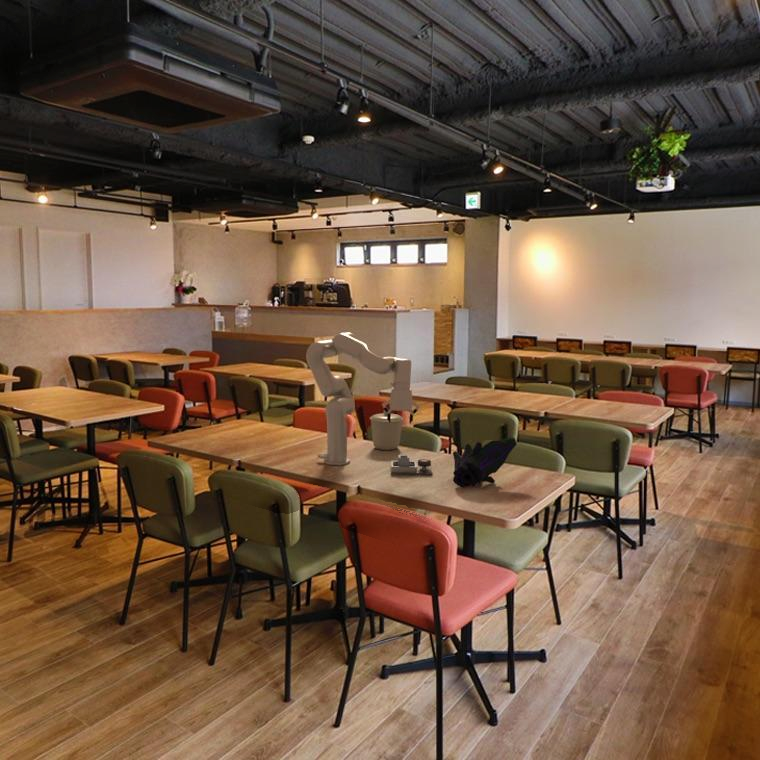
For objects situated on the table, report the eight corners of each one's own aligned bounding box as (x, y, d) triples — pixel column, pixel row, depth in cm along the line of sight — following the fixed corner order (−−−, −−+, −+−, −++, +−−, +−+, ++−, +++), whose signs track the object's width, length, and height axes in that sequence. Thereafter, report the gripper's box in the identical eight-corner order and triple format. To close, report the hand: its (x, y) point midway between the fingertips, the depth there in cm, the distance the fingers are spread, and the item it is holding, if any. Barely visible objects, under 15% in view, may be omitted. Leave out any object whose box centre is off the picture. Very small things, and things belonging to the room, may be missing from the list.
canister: (363, 450, 332) (364, 410, 330) (377, 443, 349) (377, 405, 346) (395, 453, 326) (396, 413, 323) (407, 446, 342) (408, 408, 340)
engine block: (398, 470, 289) (398, 456, 288) (398, 467, 295) (398, 453, 294) (409, 470, 289) (409, 456, 288) (408, 467, 295) (409, 453, 294)
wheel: (418, 466, 288) (418, 462, 288) (417, 463, 294) (417, 459, 294) (431, 466, 288) (431, 462, 288) (430, 463, 294) (430, 459, 294)
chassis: (390, 475, 286) (390, 467, 285) (390, 468, 298) (390, 460, 297) (432, 475, 286) (432, 467, 285) (430, 468, 298) (431, 461, 297)
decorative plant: (453, 506, 273) (481, 473, 296) (503, 494, 256) (528, 460, 280) (431, 464, 271) (461, 434, 294) (481, 450, 254) (508, 419, 278)
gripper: (382, 386, 284) (381, 423, 287) (421, 388, 284) (419, 425, 287) (383, 383, 292) (381, 419, 294) (420, 385, 292) (418, 421, 294)
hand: (399, 422), depth 291 cm, fingers open, 9 cm apart
